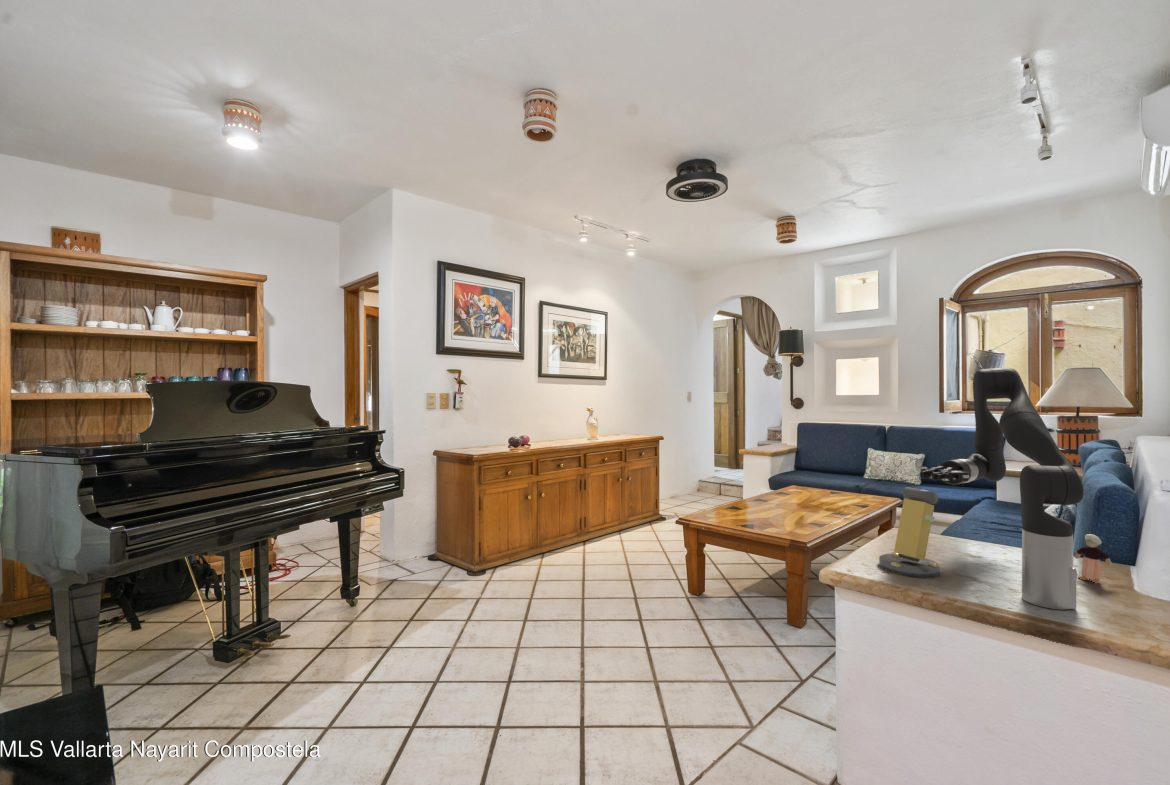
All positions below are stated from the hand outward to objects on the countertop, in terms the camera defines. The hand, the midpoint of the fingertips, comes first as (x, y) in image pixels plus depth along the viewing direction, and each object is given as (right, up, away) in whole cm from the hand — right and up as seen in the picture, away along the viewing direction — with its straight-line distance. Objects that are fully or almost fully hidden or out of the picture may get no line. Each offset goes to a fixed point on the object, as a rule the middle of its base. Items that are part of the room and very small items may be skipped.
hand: (927, 475), depth 157 cm
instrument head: (-8, -23, -4) cm, 24 cm away
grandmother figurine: (+35, -26, -15) cm, 46 cm away
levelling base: (-8, -26, -4) cm, 28 cm away
